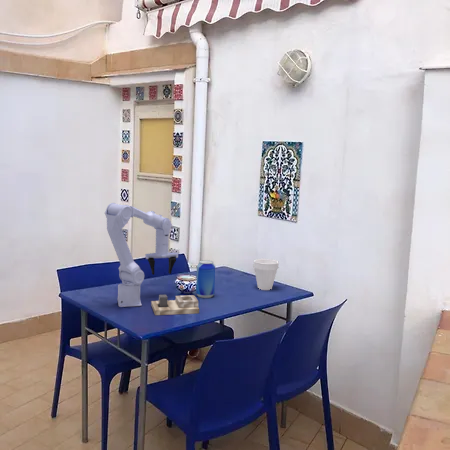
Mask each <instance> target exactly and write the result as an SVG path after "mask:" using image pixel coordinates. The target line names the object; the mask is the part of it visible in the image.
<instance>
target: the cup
mask: <svg viewBox="0 0 450 450" xmlns="http://www.w3.org/2000/svg"><path fill="white" fill-rule="evenodd" d="M279 264H280V263H279V261H278V260H277V259H273V258H256V259H254V260H253V270H254V273H255V275H254V276H255V280H256V284H257V288H259V289H258V290H260V289H261V290H260V291H270V289H271V290H272V289H273V285H274V282H275V279H276V275H277V272H278V269H279Z"/></svg>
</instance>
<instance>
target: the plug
mask: <svg viewBox="0 0 450 450" xmlns="http://www.w3.org/2000/svg"><path fill="white" fill-rule="evenodd" d="M167 300H168V296H167V294H159V295H158V301H159V307H167Z"/></svg>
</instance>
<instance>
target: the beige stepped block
mask: <svg viewBox="0 0 450 450" xmlns="http://www.w3.org/2000/svg"><path fill="white" fill-rule="evenodd" d="M150 303H151V304H150V306H151V308H152V312H153V314H154V316H167V315H168V316H169V315H171V316H172V315H188V314H189V315H193V314H200V308H199V300H198V298H197V297H196V296H195V295H194V294H191V295H190V294H189V295H187V294H186V295H175V299H174V300H173V299H171V300H168V299H167V307H159V300H151V301H150Z"/></svg>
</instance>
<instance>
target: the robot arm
mask: <svg viewBox="0 0 450 450" xmlns="http://www.w3.org/2000/svg"><path fill="white" fill-rule="evenodd" d="M104 214H105V218H106V230H107V234H108V236H109V238H110V241H111V244H112V245H113V248H114V249H113V250H114V251H115V253H116V256H117V259H118V262H119V264H120V265H119V267H118V271H119V272H118V273H119V274H118V275H119V279H120V280H121V283H118V285H117V298H116V299H117V305H118V307H120V308H121V307H123V308H124V307H125V308H127V307H142V302H141V285H142V283H143V282H144V279H145V272H144V271H143V270H142V269H141V267H140V265H138V263H136V262H135V261H134V258H133V255H132V253H131V251H130V247H129V245H128V242H127V240H126V237H125V234H124V231H123V228H124V227H126V225H127V224H128V222H129V221H130V220H131V218H137V219H139V220H142V222H143V223H144V224H145V225H147V226H149V227H152V228H153V229H155V252H152V253H151V252H150V253H145V254H144V255H145V259H146V260H147V261H148V264H149V267H150V270H151V274H152V275H153V276H154V275H155V266H156V265H155V264H156V260H155V259H167V258H168V274H169V275H170V274H172V271H173V268H174V266H175V263H176V262H177V259H178V258H179V253H178V252H169V242H170V240H169V238H170V234H171V233H170V232H171V229H172V226H173V223H172V221H171V220H170V218H168V217H163V215H162V214H157V213H156V212H155V211H153V210H151V211H143V210H141V209H139V208H137V207H135V206H133V205H128V204H121V203H120V204H119V203H115V202H110V203H109V204H108V205H107V207H106V209H105V212H104Z"/></svg>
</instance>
